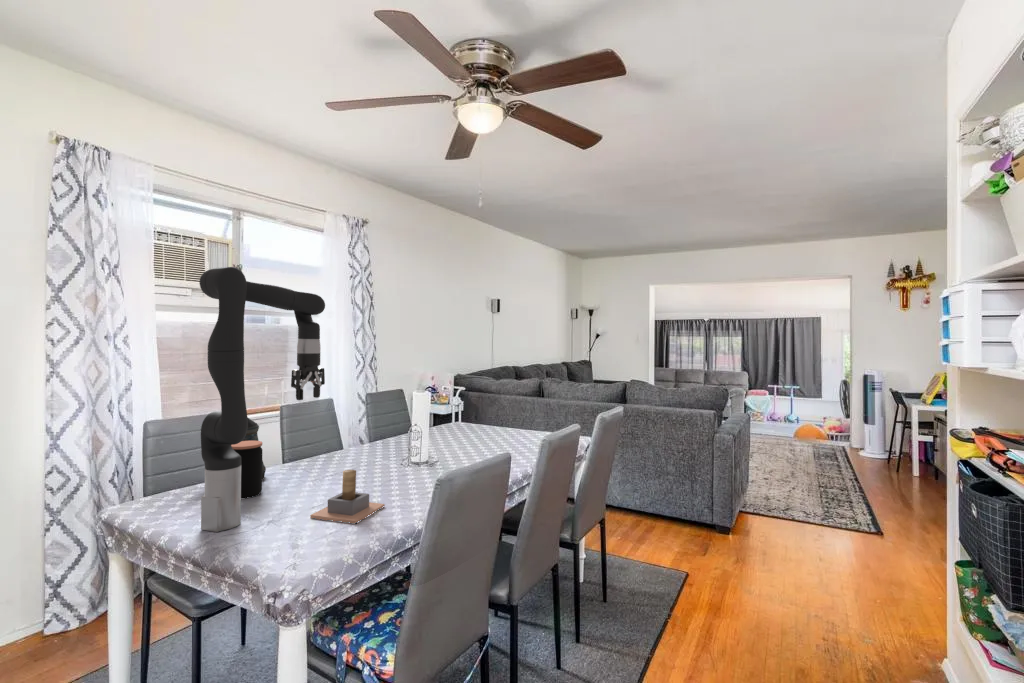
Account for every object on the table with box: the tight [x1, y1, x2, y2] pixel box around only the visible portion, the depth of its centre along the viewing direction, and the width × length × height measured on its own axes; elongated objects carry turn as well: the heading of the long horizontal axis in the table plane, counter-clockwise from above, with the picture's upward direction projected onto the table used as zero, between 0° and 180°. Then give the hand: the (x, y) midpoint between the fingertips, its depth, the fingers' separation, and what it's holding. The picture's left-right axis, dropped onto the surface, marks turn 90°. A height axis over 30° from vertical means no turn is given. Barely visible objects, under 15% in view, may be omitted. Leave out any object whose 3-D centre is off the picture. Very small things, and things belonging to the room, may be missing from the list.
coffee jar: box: [231, 440, 263, 499], centre depth 172 cm, size 11×11×18 cm
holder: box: [310, 491, 386, 524], centre depth 156 cm, size 16×16×5 cm
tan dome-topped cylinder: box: [341, 469, 357, 501], centre depth 156 cm, size 4×4×12 cm
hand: (308, 398), depth 171 cm, fingers open, 8 cm apart
